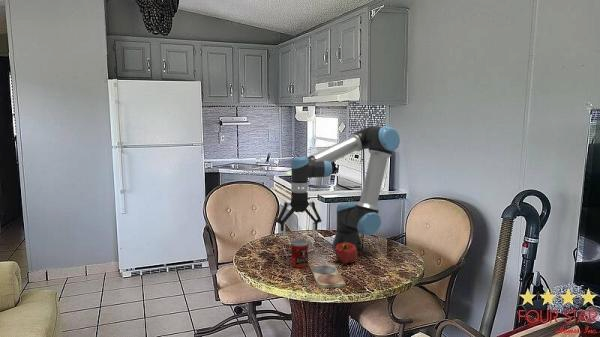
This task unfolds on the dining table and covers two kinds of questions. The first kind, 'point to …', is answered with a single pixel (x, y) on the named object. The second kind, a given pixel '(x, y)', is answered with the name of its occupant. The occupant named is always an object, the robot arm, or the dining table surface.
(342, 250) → the red apple
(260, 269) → the dining table surface
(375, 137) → the robot arm
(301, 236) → the dining table surface
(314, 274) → the board
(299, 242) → the canned food
